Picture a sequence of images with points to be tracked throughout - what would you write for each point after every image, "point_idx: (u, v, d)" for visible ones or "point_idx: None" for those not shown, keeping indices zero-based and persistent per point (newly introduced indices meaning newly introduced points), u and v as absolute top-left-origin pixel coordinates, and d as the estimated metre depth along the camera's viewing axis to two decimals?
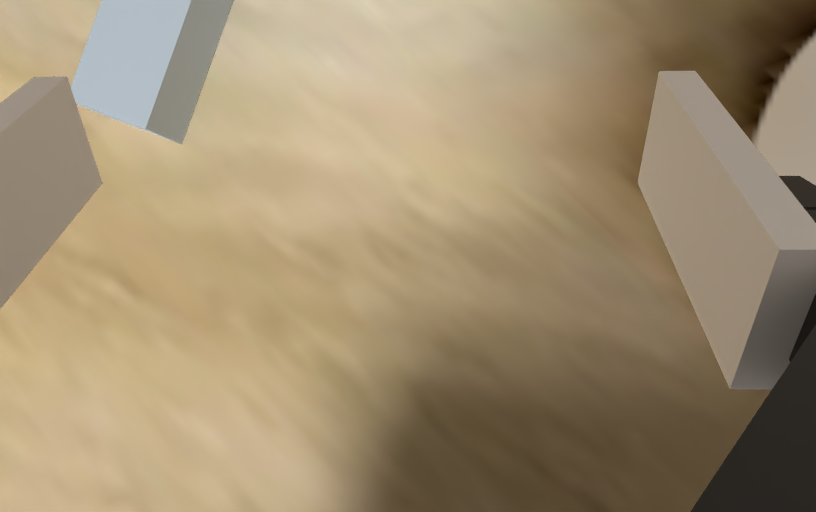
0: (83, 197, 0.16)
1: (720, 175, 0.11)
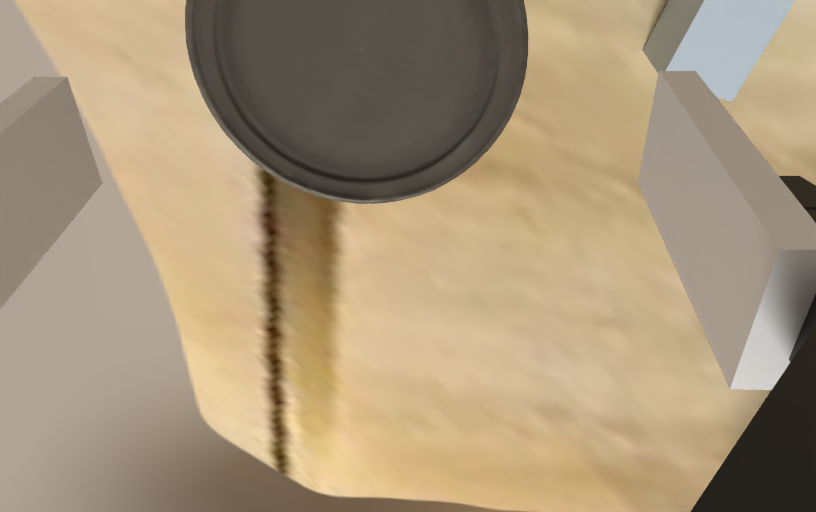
0: (83, 197, 0.16)
1: (720, 175, 0.11)
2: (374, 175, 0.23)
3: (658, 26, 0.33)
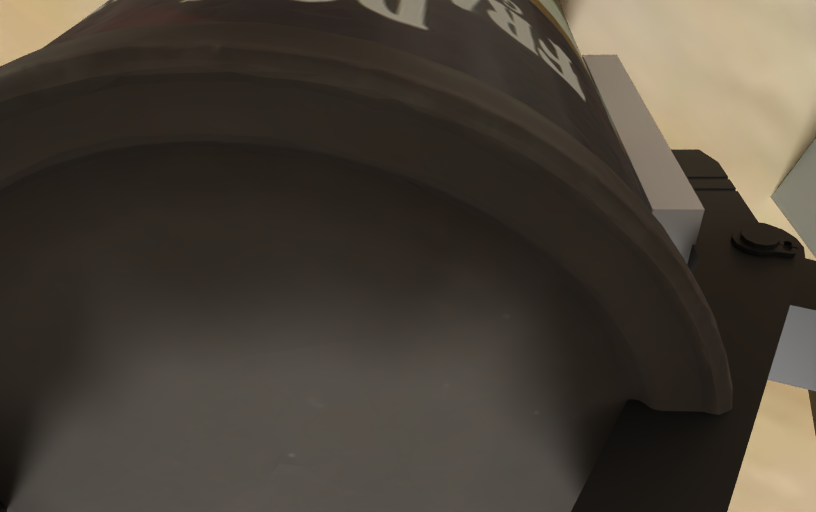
0: None
1: None
2: None
3: (804, 167, 0.20)
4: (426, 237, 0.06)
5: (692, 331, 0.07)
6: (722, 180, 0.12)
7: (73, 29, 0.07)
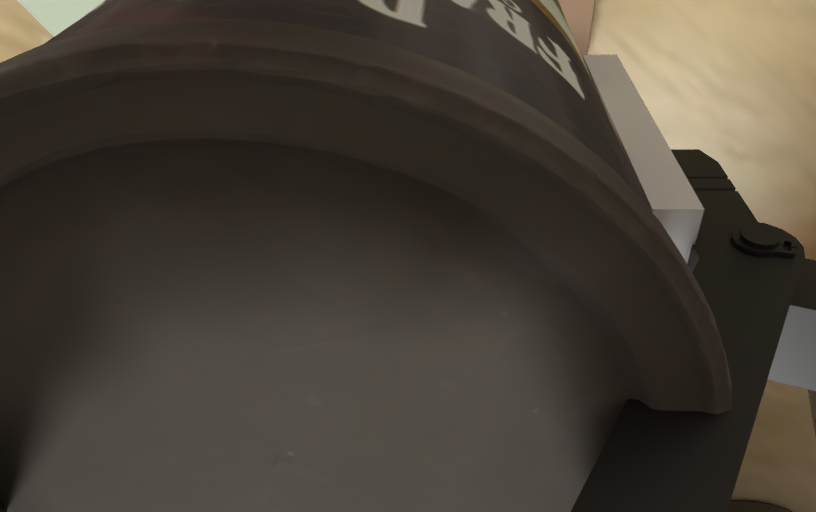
0: None
1: None
2: None
3: None
4: (425, 235, 0.06)
5: (691, 329, 0.07)
6: (722, 180, 0.12)
7: (71, 27, 0.07)
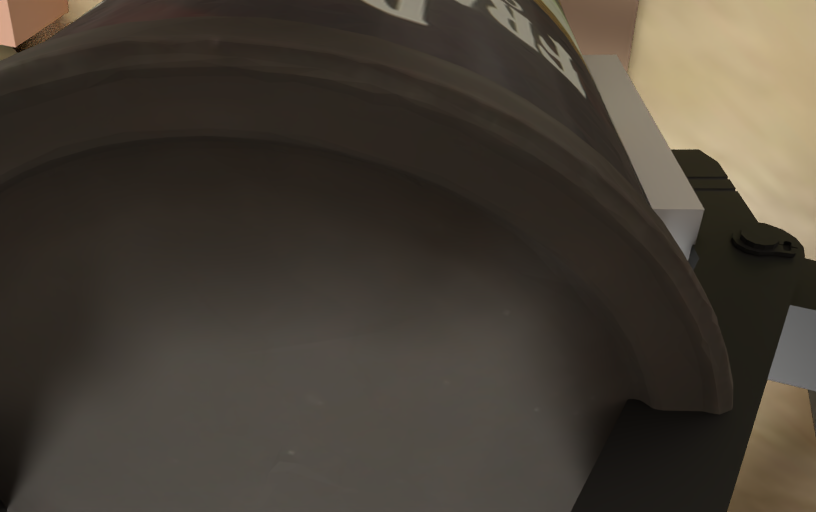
0: None
1: None
2: None
3: None
4: (426, 233, 0.06)
5: (693, 327, 0.07)
6: (722, 180, 0.12)
7: (72, 25, 0.07)
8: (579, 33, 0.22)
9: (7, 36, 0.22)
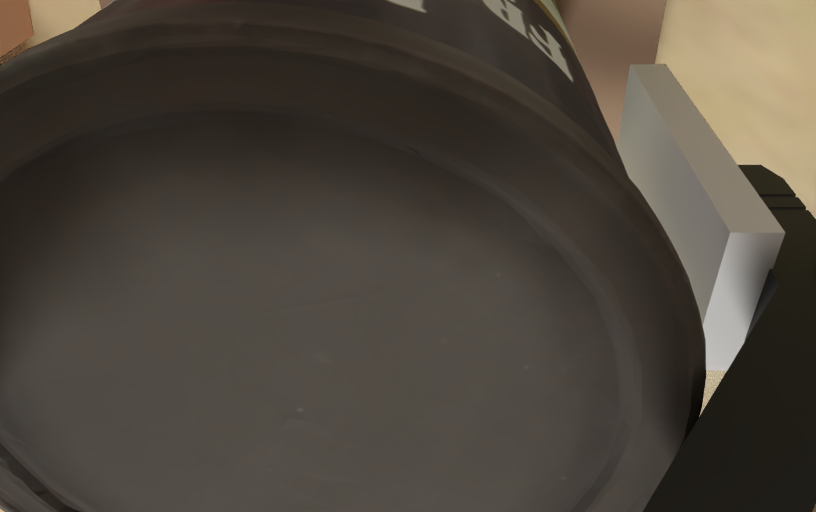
0: None
1: (681, 163, 0.12)
2: None
3: None
4: (425, 199, 0.07)
5: (667, 286, 0.07)
6: (790, 198, 0.11)
7: (100, 12, 0.08)
8: (594, 64, 0.20)
9: None
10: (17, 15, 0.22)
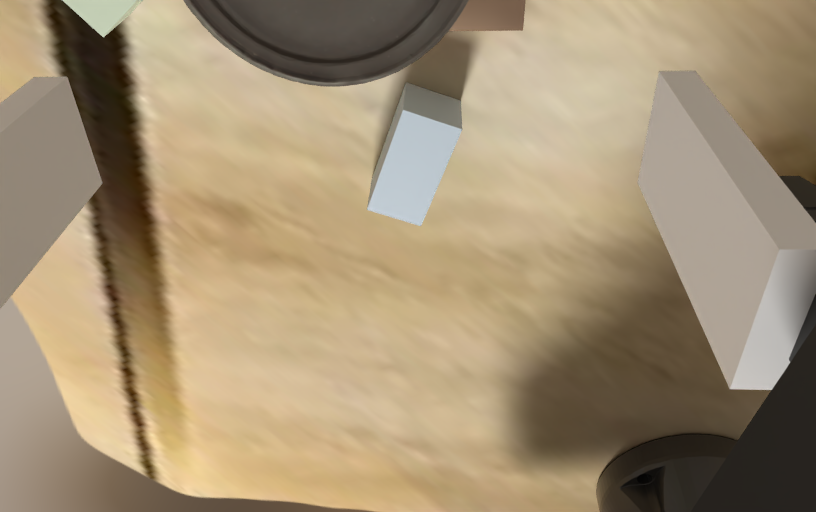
0: (83, 197, 0.16)
1: (720, 175, 0.11)
2: (338, 56, 0.23)
3: (377, 163, 0.44)
4: None
5: None
6: None
7: None
8: None
9: None
10: None
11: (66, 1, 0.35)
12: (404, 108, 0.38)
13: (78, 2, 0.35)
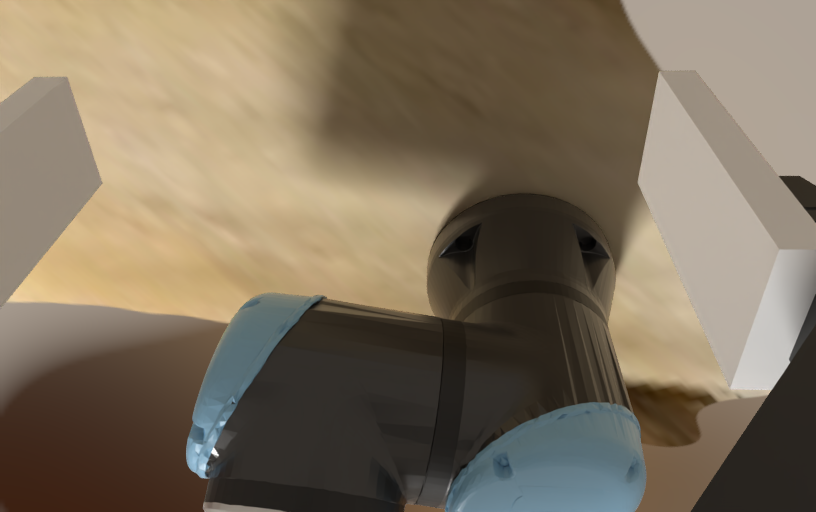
0: (83, 197, 0.16)
1: (720, 175, 0.11)
2: None
3: None
4: None
5: None
6: None
7: None
8: None
9: None
10: None
11: None
12: None
13: None
